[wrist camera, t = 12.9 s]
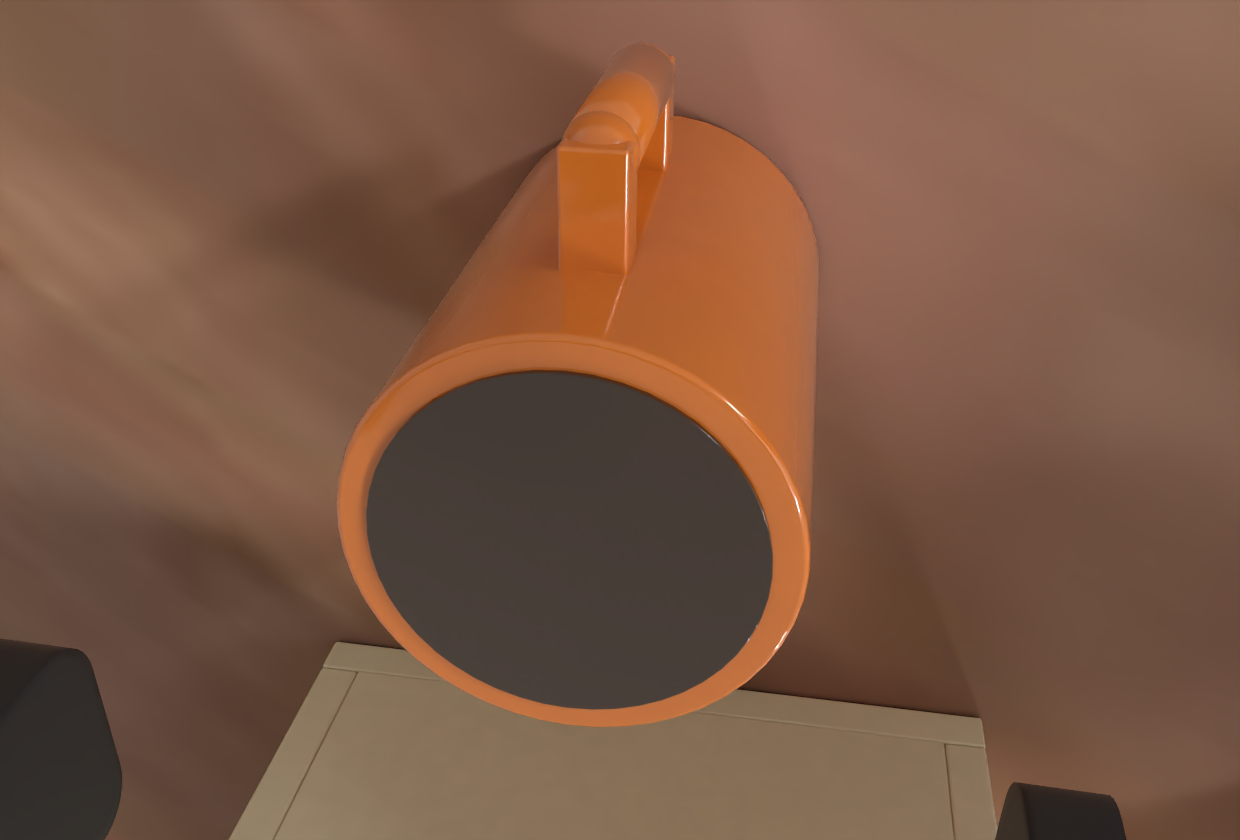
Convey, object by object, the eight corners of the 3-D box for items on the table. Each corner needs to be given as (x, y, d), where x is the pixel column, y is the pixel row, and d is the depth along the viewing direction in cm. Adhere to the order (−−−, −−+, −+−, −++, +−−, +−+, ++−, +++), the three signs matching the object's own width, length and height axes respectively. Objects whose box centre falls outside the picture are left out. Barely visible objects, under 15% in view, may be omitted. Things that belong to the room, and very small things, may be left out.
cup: (491, -4, 18) (283, 161, 11) (847, 11, 18) (855, 198, 11) (507, 396, 22) (356, 706, 15) (804, 422, 21) (789, 760, 14)
